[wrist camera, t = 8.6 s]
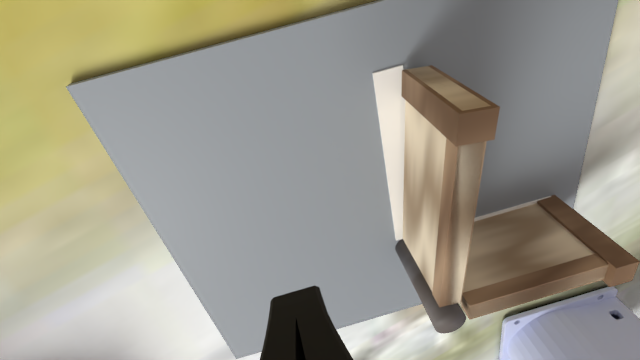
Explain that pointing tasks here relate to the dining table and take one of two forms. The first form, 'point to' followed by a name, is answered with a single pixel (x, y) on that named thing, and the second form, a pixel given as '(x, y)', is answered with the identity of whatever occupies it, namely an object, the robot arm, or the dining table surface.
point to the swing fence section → (442, 174)
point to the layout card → (339, 143)
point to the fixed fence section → (525, 261)
